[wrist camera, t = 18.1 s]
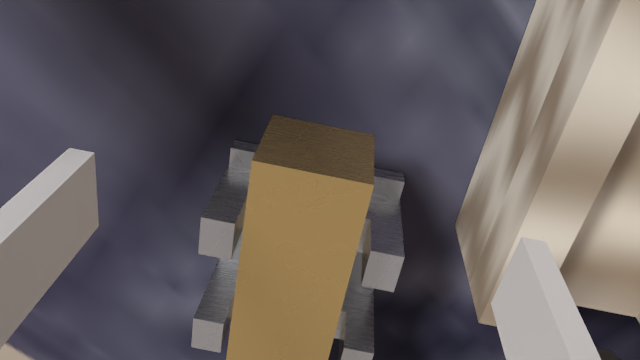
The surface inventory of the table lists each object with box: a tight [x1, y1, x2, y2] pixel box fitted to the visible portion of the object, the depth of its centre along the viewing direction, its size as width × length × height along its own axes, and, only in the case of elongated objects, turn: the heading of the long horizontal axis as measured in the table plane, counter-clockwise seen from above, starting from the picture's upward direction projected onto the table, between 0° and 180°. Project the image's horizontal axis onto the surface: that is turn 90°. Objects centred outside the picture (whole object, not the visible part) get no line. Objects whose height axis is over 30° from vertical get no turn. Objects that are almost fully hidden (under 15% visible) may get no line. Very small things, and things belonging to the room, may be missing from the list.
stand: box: [191, 140, 405, 360], centre depth 27 cm, size 10×9×6 cm
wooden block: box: [226, 115, 374, 360], centre depth 24 cm, size 14×4×4 cm, turn 170°
